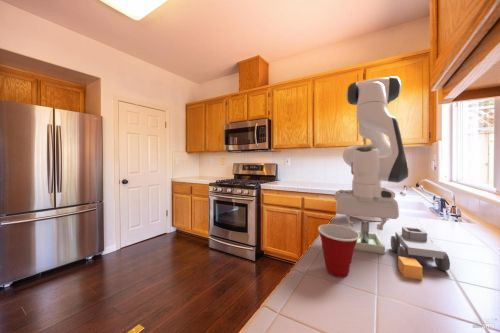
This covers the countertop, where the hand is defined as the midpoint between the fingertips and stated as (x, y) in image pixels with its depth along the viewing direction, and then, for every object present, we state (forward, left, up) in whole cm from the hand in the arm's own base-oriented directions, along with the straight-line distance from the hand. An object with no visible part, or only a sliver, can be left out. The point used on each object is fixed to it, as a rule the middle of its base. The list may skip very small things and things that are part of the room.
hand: (364, 228), depth 77 cm
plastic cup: (+24, -9, -6) cm, 27 cm away
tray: (0, 0, -6) cm, 6 cm away
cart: (+7, +14, -6) cm, 16 cm away
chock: (+18, +9, -6) cm, 21 cm away
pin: (0, 0, -6) cm, 6 cm away
